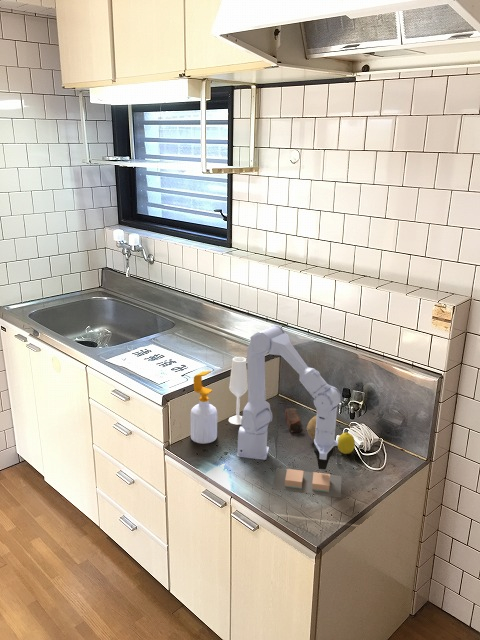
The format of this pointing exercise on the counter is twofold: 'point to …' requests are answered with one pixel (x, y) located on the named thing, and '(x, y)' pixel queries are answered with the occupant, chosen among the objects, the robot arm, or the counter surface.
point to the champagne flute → (238, 384)
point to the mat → (307, 484)
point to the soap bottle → (203, 414)
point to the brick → (292, 420)
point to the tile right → (321, 482)
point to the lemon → (346, 443)
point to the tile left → (294, 478)
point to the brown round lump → (312, 427)
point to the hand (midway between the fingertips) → (322, 467)
